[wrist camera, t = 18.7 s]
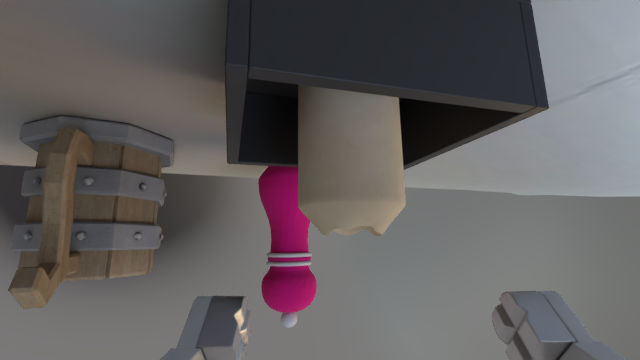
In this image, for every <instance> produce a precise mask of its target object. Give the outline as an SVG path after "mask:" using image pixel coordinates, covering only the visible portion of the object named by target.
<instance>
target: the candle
mask: <svg viewBox="0 0 640 360" xmlns="http://www.w3.org/2000/svg"><path fill="white" fill-rule="evenodd" d="M405 205H406V198H405V183H404V168H403V153H402V139H401V124H400V109H399V97H391V96H384V95H376V94H368V93H360V92H352V91H344V90H337V89H329V88H321V87H313V86H305V85H298V208H299V209H300V210H301V211H302V212H303V214H304V215H305V216H306V217H307V218H308V219H309V220H310V221H311V222H312V223H313V224H314V225H315V226H316V227H317V228H318V230H319V231H320V232H321V233H322V234H323V235H328V234H330V233H331V232H333V231H335V232H337V233H339V234H341V235H344V236H347V235H352V234H354V233H356V232H358V231H361V230H364V229H365V230H368V231H369V232H371V233H372V234H373V235H375V236H381V235H383V234H384V232H385V230H386V229H387V227H388V226H389V225H390V224H391V222H392V221H393V220H394V219H395V217H396V216H397V215H398V214H399V212H400V211H401V210H402V209H403V208H404V207H405Z"/></svg>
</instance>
